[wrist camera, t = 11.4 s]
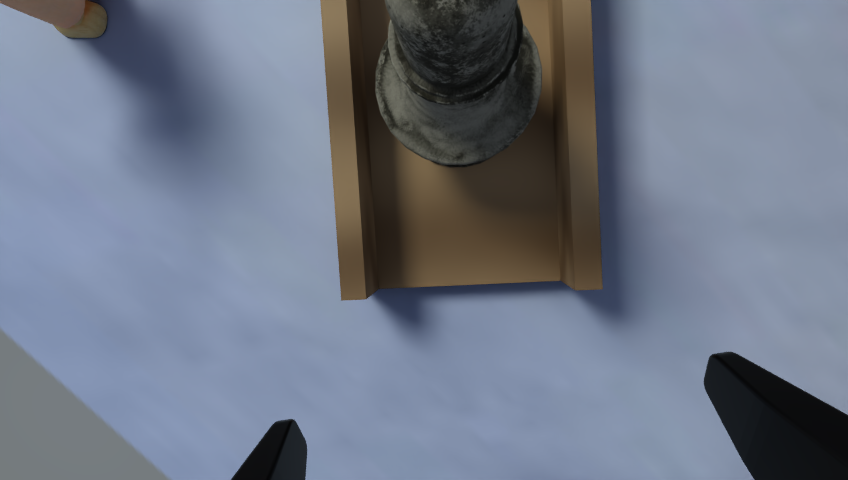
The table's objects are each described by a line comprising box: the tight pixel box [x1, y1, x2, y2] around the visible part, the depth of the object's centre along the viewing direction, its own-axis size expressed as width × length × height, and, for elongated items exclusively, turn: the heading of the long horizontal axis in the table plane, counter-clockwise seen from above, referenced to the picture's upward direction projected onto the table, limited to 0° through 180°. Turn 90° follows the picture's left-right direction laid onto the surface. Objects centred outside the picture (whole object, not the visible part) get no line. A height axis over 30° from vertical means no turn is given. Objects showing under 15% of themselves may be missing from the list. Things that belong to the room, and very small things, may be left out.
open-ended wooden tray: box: [321, 0, 603, 300], centre depth 18 cm, size 16×10×4 cm, turn 3°
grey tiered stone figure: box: [375, 0, 542, 167], centre depth 13 cm, size 6×6×12 cm
